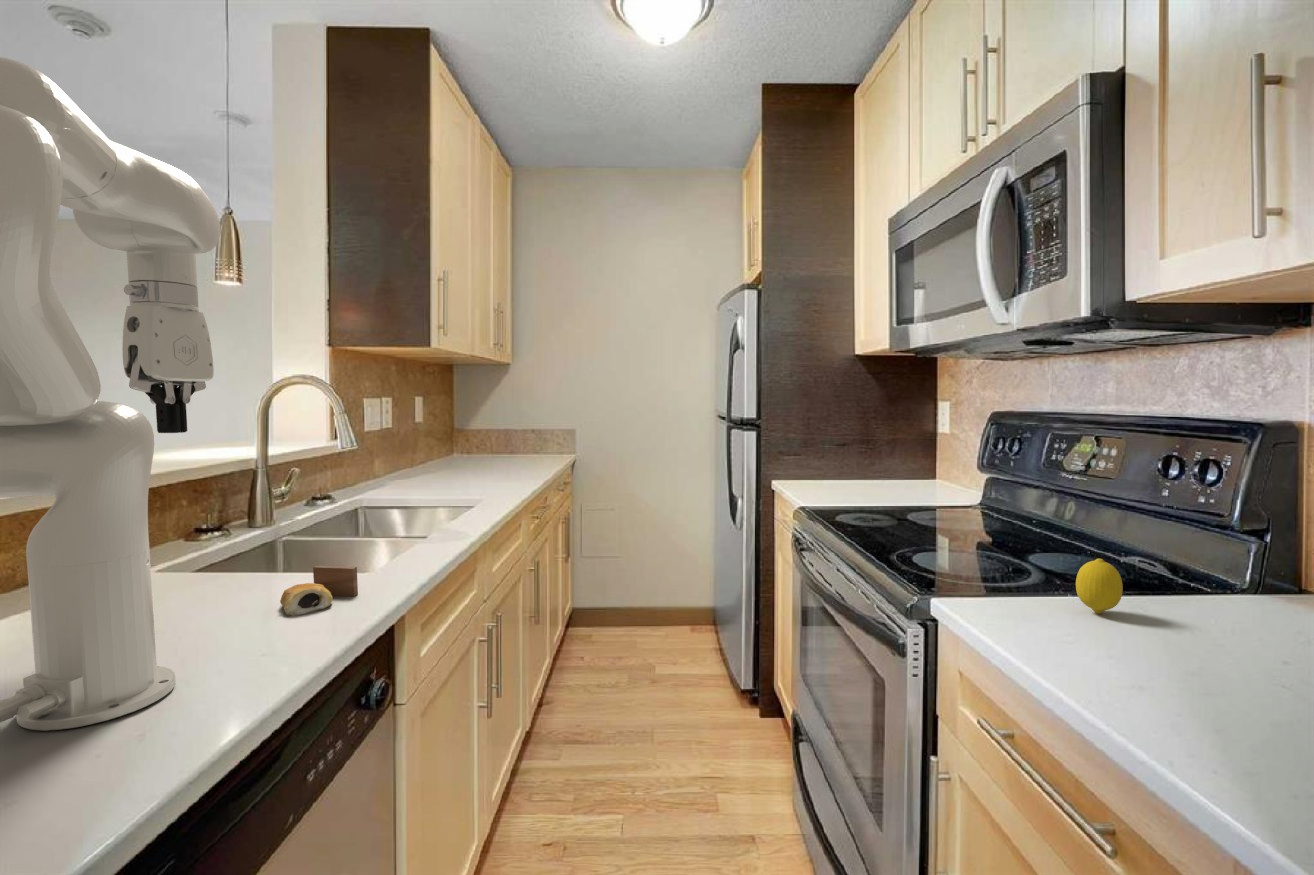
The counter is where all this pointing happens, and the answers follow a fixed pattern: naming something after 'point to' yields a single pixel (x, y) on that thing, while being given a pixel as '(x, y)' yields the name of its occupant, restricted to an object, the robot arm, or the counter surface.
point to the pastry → (305, 598)
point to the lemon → (1099, 585)
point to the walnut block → (337, 579)
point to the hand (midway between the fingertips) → (172, 432)
